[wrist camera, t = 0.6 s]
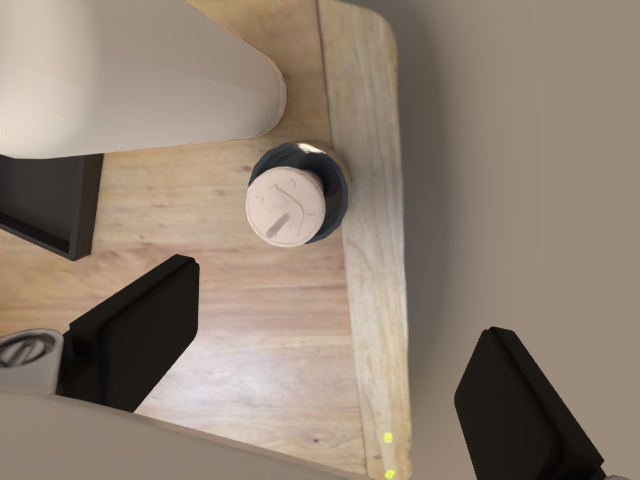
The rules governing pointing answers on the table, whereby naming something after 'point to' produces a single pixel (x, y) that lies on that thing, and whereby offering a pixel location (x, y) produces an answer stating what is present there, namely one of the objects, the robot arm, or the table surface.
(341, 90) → the table surface
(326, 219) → the bowl
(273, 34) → the table surface
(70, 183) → the tray
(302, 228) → the smoothie
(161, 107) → the bottle
